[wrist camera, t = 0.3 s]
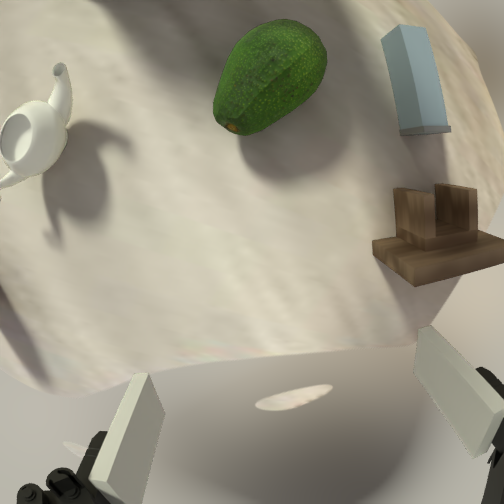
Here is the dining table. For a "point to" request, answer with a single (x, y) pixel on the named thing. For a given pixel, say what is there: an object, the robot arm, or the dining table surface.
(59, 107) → the teapot
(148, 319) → the dining table surface
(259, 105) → the fruit
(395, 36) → the block
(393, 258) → the wooden card holder
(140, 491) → the robot arm
